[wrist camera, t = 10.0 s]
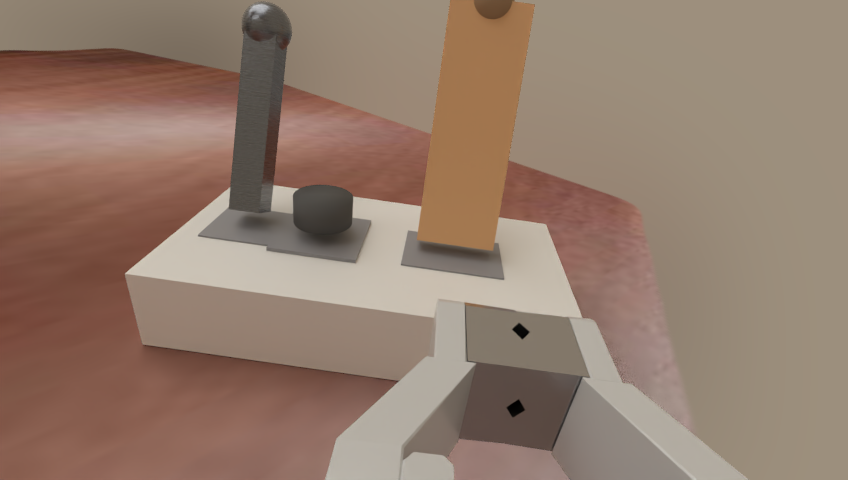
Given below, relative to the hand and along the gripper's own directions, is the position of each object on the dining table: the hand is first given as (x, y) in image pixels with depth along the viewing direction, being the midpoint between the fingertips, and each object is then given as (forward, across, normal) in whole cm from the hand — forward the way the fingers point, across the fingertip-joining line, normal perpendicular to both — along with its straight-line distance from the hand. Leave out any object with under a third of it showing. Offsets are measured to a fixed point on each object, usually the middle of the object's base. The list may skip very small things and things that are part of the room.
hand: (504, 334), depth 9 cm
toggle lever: (+14, +11, +6) cm, 19 cm away
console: (+14, +4, +10) cm, 17 cm away
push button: (+14, +7, +6) cm, 16 cm away
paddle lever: (+14, 0, +6) cm, 15 cm away
